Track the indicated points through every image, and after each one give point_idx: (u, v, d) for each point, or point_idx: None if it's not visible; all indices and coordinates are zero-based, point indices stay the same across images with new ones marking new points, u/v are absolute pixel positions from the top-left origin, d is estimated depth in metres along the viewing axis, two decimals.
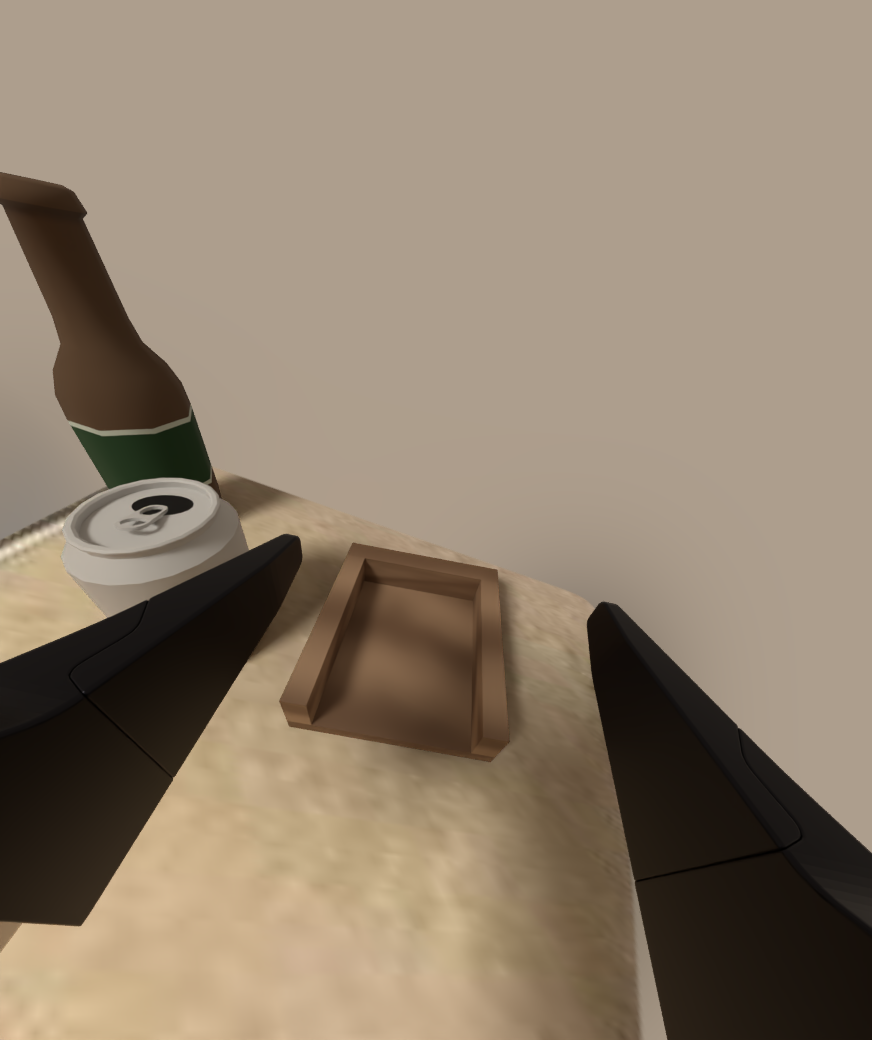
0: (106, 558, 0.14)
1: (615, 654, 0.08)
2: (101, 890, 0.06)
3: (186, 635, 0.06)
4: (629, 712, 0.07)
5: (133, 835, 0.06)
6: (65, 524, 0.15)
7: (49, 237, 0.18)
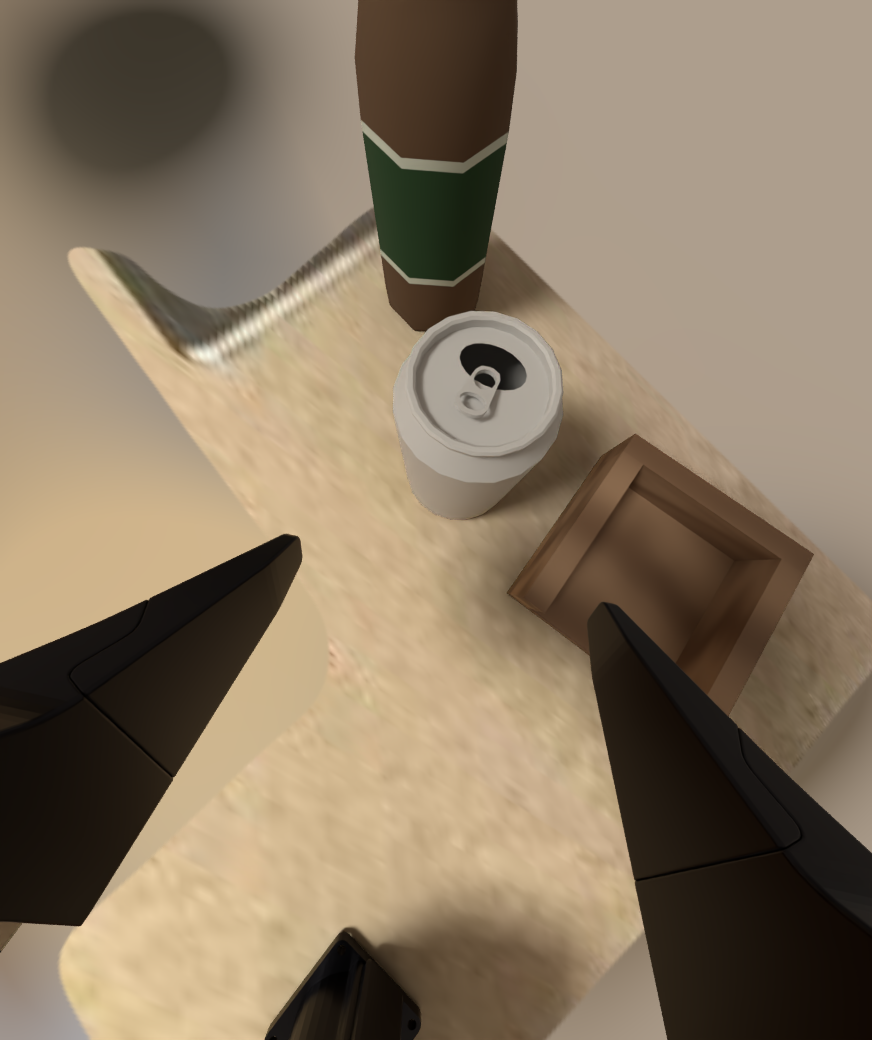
0: (444, 446, 0.12)
1: (615, 654, 0.08)
2: (101, 890, 0.06)
3: (186, 635, 0.06)
4: (629, 712, 0.07)
5: (133, 835, 0.06)
6: (407, 382, 0.12)
7: None
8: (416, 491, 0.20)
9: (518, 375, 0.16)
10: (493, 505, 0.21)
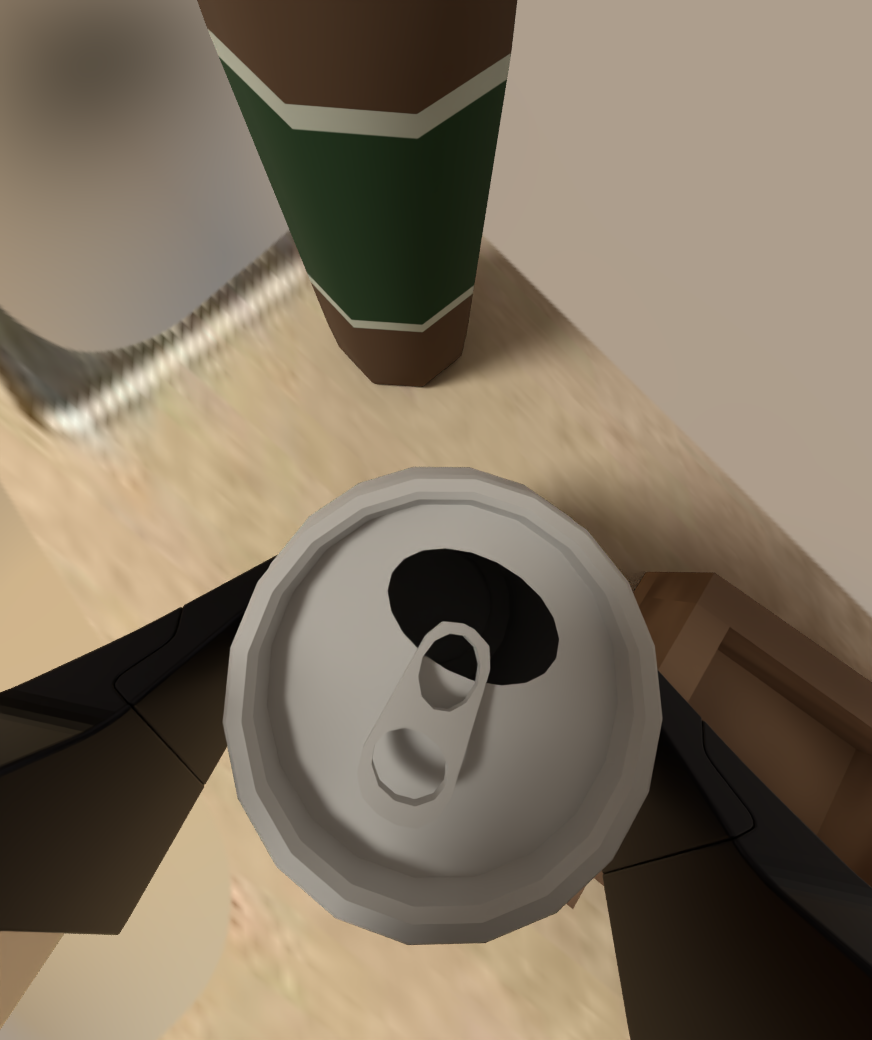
0: (339, 857, 0.04)
1: None
2: (138, 898, 0.05)
3: (221, 643, 0.06)
4: None
5: (167, 843, 0.06)
6: (228, 698, 0.04)
7: None
8: None
9: None
10: None
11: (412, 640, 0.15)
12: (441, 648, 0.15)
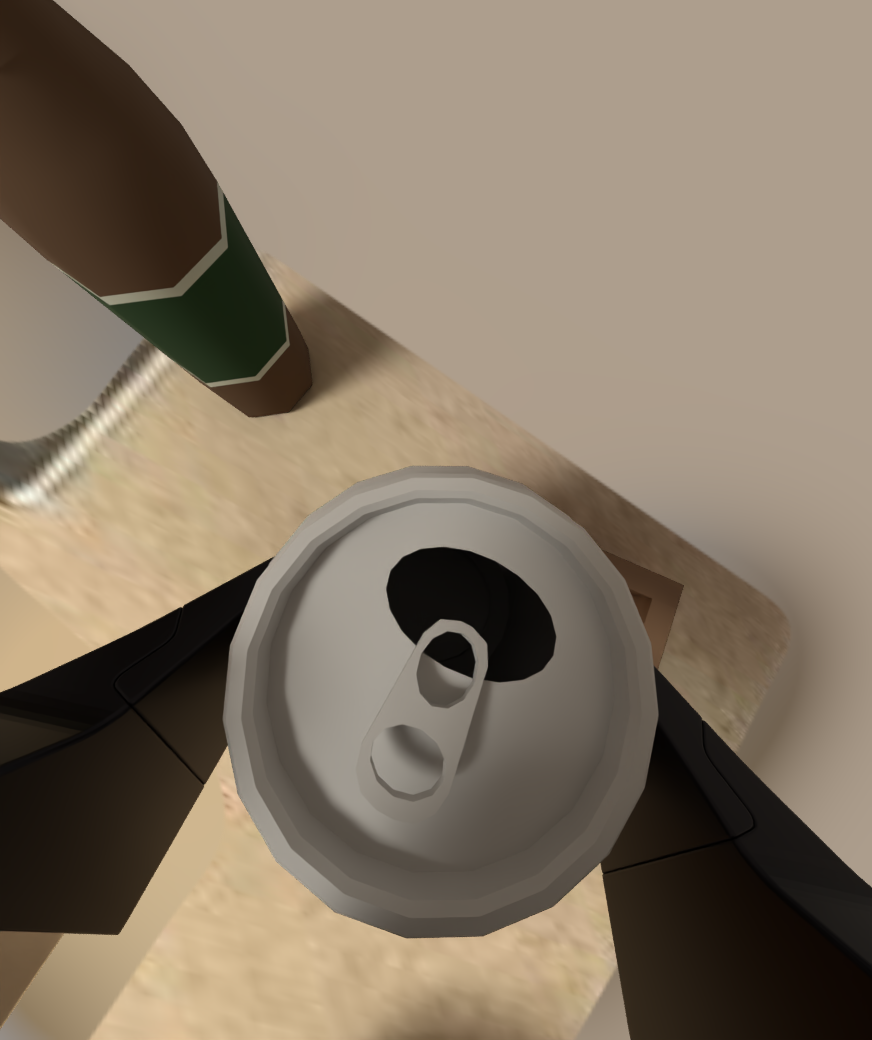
0: (338, 852, 0.05)
1: None
2: (138, 898, 0.05)
3: (221, 643, 0.06)
4: None
5: (168, 843, 0.06)
6: (228, 695, 0.04)
7: None
8: None
9: None
10: (486, 672, 0.14)
11: (412, 639, 0.16)
12: (440, 646, 0.15)
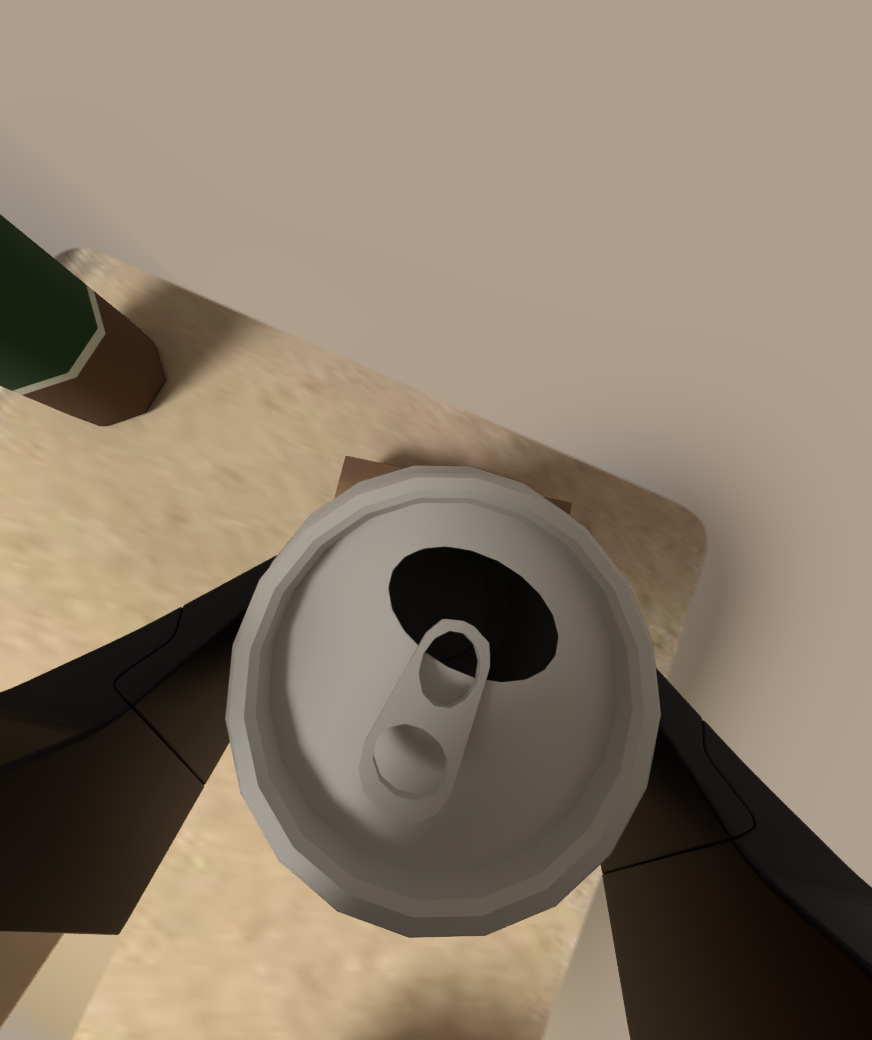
0: (341, 851, 0.05)
1: None
2: (138, 898, 0.06)
3: (221, 643, 0.06)
4: None
5: (167, 843, 0.06)
6: (231, 695, 0.04)
7: None
8: None
9: None
10: None
11: (412, 638, 0.16)
12: (441, 646, 0.15)
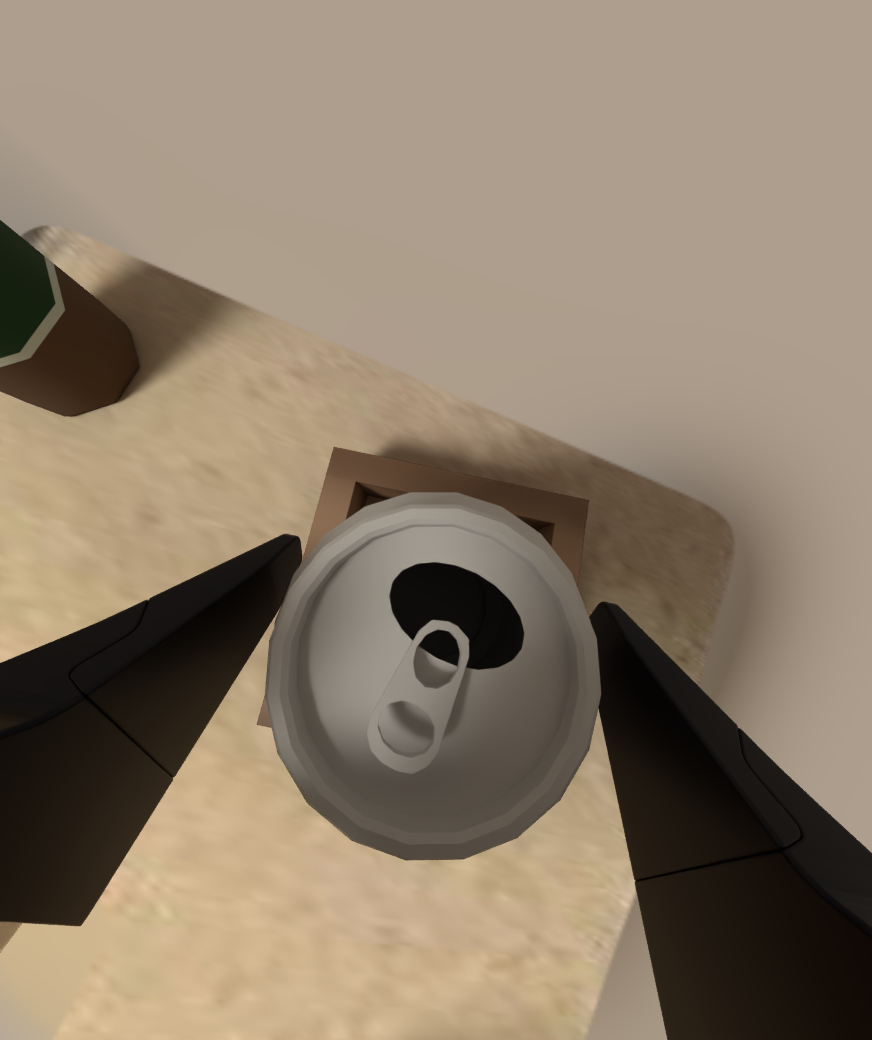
0: (353, 800, 0.06)
1: (615, 654, 0.08)
2: (101, 890, 0.06)
3: (186, 635, 0.06)
4: (629, 712, 0.07)
5: (133, 835, 0.06)
6: (269, 679, 0.06)
7: None
8: None
9: None
10: (480, 668, 0.15)
11: (413, 638, 0.17)
12: (439, 645, 0.17)
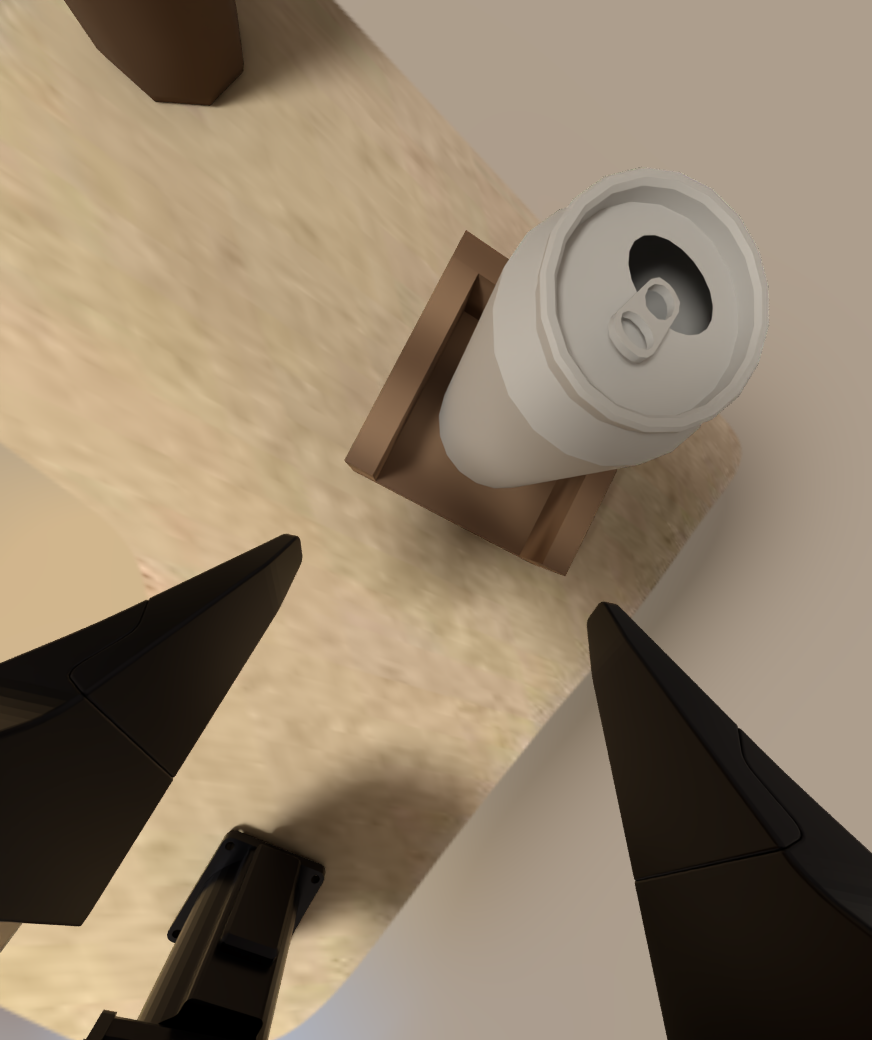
0: (565, 390, 0.08)
1: (615, 654, 0.08)
2: (101, 890, 0.06)
3: (186, 635, 0.06)
4: (629, 712, 0.07)
5: (133, 835, 0.06)
6: (548, 259, 0.07)
7: None
8: (451, 437, 0.15)
9: None
10: None
11: None
12: None
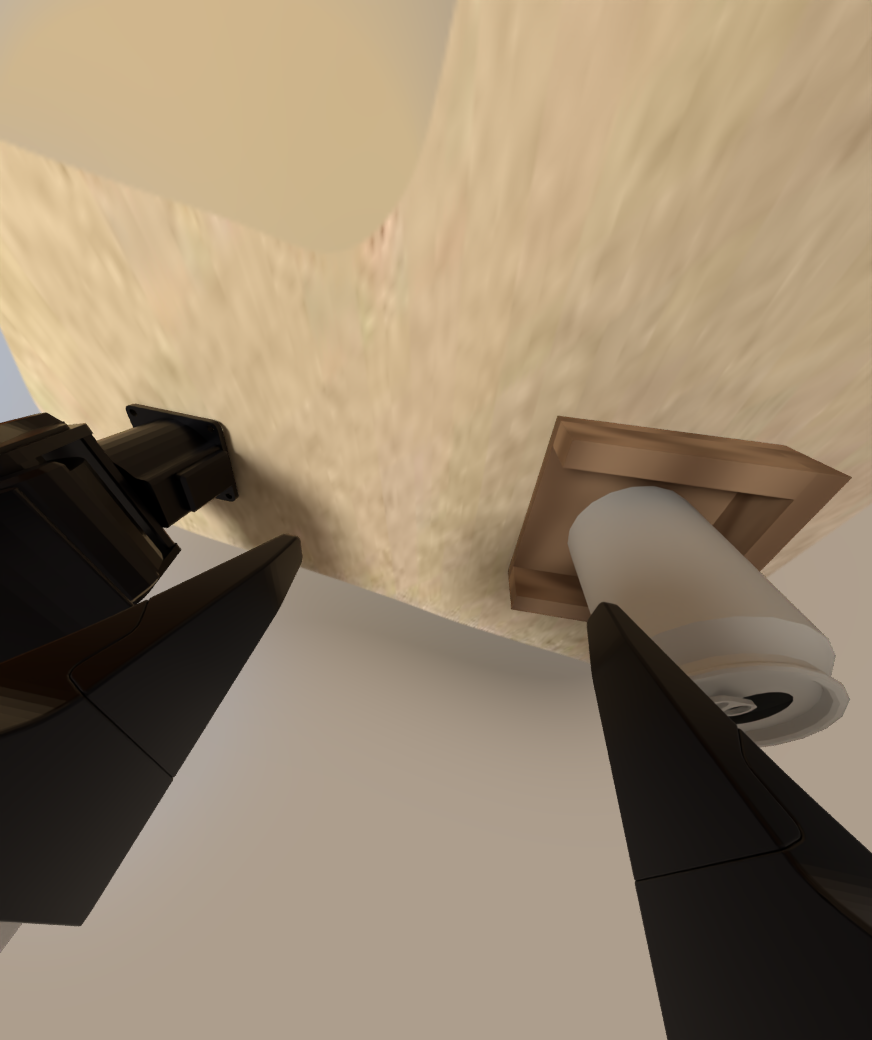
0: None
1: (615, 654, 0.08)
2: (101, 890, 0.06)
3: (186, 635, 0.06)
4: (629, 712, 0.07)
5: (133, 835, 0.06)
6: (771, 669, 0.10)
7: None
8: (611, 519, 0.17)
9: None
10: None
11: None
12: None
